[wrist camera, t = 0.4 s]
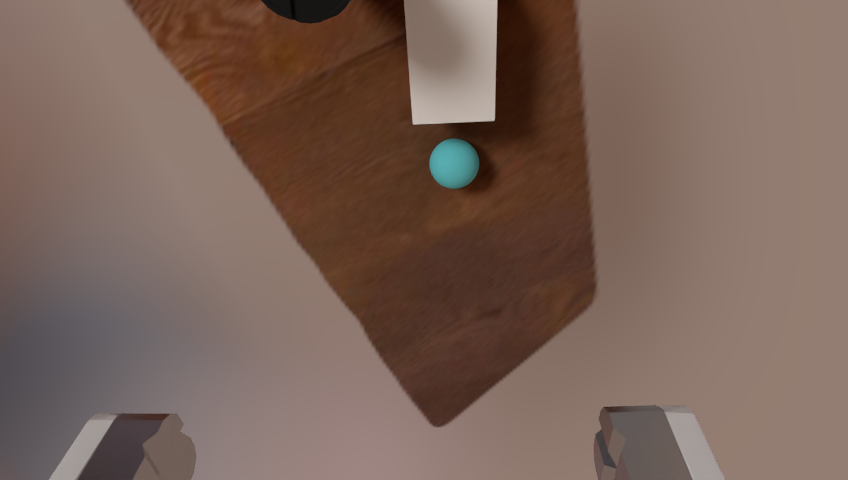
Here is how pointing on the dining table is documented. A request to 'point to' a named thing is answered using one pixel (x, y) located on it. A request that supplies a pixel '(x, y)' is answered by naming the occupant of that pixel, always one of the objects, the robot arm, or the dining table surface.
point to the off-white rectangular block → (451, 59)
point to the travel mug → (307, 9)
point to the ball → (454, 163)
